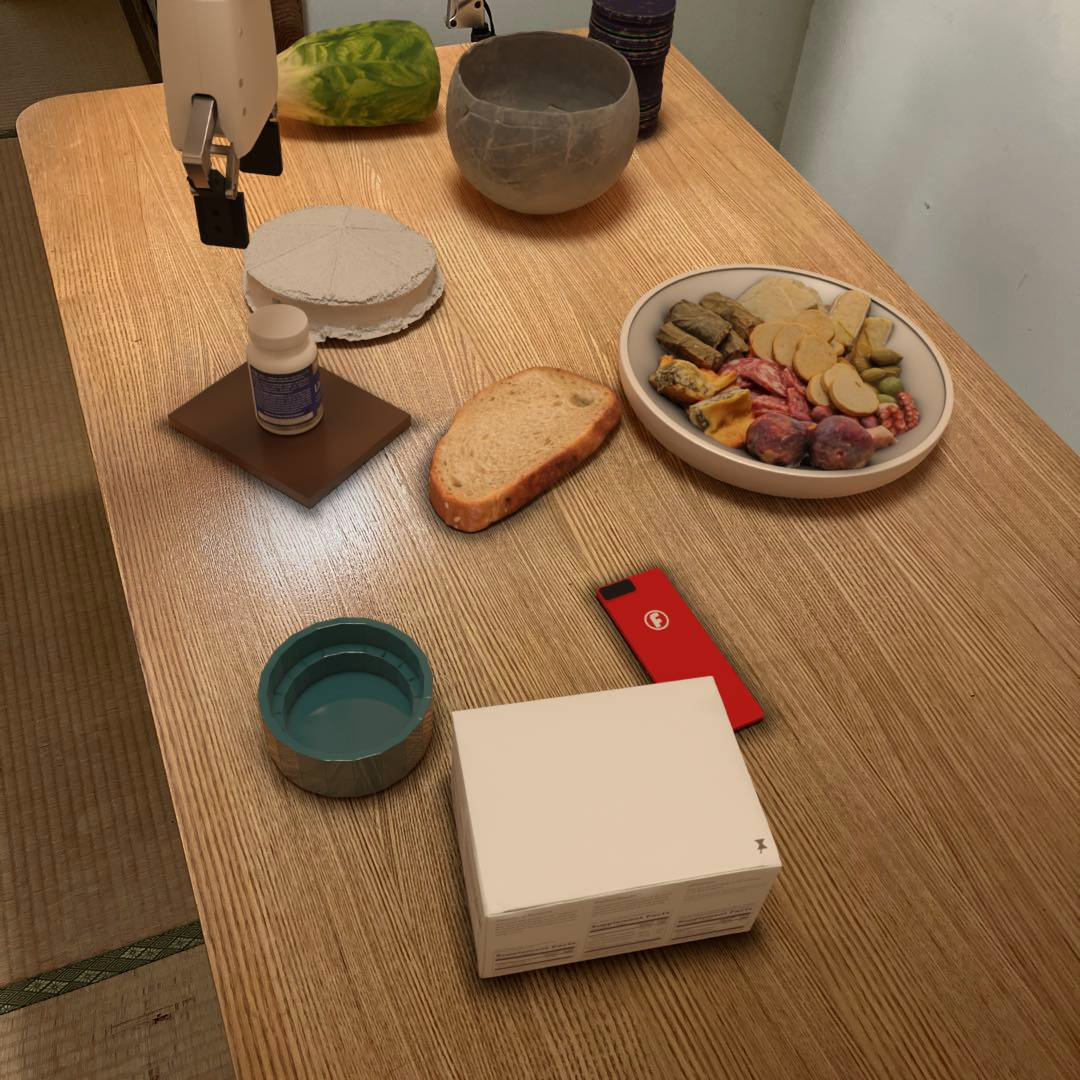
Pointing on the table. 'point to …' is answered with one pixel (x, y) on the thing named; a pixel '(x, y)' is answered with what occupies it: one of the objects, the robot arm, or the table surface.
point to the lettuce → (360, 75)
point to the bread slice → (517, 443)
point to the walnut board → (292, 460)
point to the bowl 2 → (783, 380)
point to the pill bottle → (283, 370)
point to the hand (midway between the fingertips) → (244, 207)
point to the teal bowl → (347, 706)
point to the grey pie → (342, 270)
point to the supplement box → (606, 825)
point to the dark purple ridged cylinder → (638, 46)
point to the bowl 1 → (542, 119)
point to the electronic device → (674, 640)
